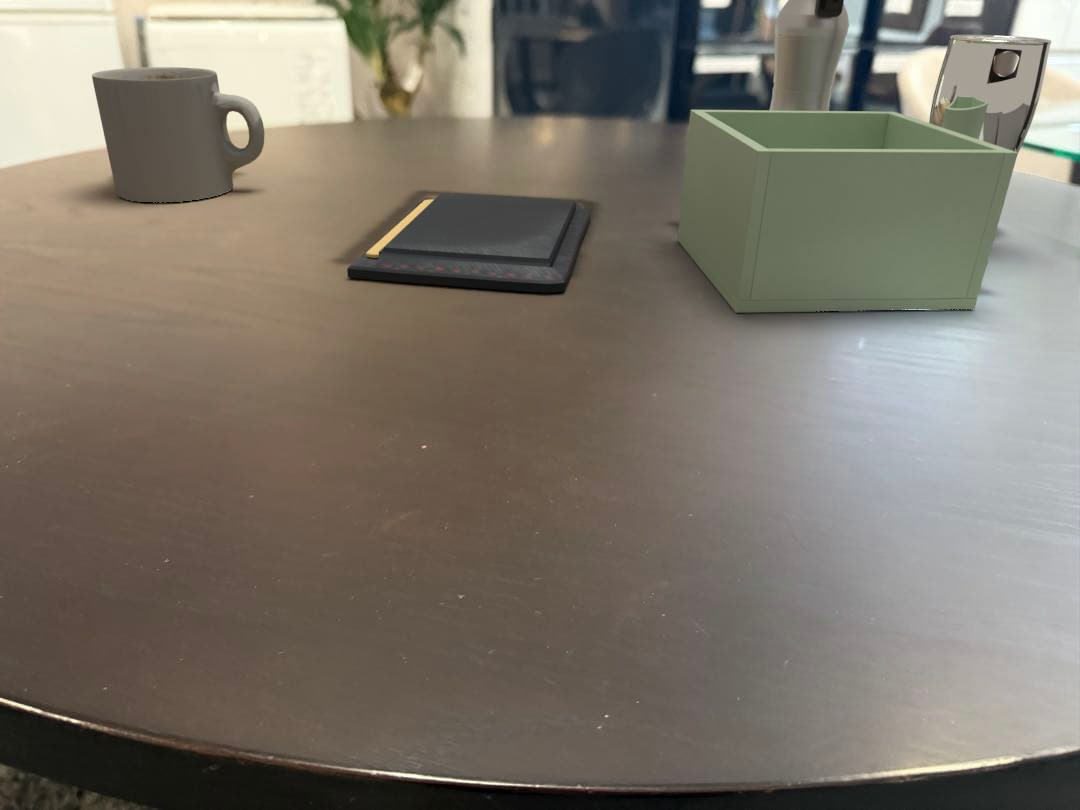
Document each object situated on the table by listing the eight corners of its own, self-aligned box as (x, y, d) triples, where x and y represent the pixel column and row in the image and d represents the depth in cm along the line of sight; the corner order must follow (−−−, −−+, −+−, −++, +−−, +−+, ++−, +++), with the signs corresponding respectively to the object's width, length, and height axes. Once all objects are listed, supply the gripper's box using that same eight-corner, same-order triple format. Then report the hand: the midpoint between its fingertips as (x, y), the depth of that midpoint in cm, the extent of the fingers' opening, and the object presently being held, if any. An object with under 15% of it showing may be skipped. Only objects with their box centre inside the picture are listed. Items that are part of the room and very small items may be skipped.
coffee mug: (92, 199, 73) (65, 77, 68) (155, 175, 81) (134, 65, 77) (238, 208, 71) (220, 84, 66) (286, 183, 80) (273, 71, 75)
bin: (868, 239, 67) (894, 111, 62) (974, 310, 53) (1018, 152, 49) (677, 240, 66) (690, 109, 61) (735, 313, 52) (758, 150, 47)
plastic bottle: (826, 194, 81) (869, -41, 71) (755, 190, 81) (787, -43, 72) (817, 179, 86) (856, -40, 77) (751, 175, 87) (780, -42, 78)
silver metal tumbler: (885, 239, 67) (929, 36, 60) (928, 226, 71) (974, 33, 64) (970, 261, 62) (1029, 43, 55) (1011, 245, 66) (1071, 39, 59)
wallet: (564, 268, 53) (335, 250, 55) (563, 296, 54) (338, 278, 56) (599, 195, 70) (424, 184, 72) (598, 217, 71) (425, 205, 73)
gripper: (936, -226, 63) (888, 20, 71) (856, -194, 76) (823, 12, 83) (840, -231, 62) (802, 18, 70) (775, -197, 75) (749, 10, 83)
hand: (813, 14), depth 77 cm, fingers closed on plastic bottle, 5 cm apart
